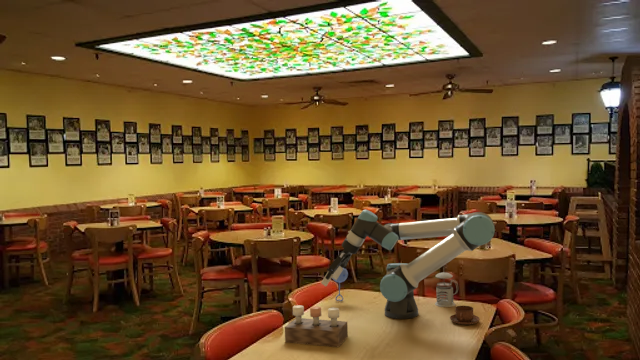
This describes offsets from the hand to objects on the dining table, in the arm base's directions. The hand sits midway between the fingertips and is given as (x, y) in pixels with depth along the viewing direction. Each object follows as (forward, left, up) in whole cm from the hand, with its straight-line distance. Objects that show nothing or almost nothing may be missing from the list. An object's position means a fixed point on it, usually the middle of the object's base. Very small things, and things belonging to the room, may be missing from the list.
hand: (328, 281), depth 218 cm
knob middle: (-3, +25, -11) cm, 28 cm away
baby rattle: (+5, -30, -17) cm, 34 cm away
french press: (-47, -35, -17) cm, 61 cm away
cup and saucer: (-57, -10, -17) cm, 61 cm away
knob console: (-3, +25, -17) cm, 31 cm away
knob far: (+4, +26, -11) cm, 28 cm away
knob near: (-11, +26, -11) cm, 30 cm away
